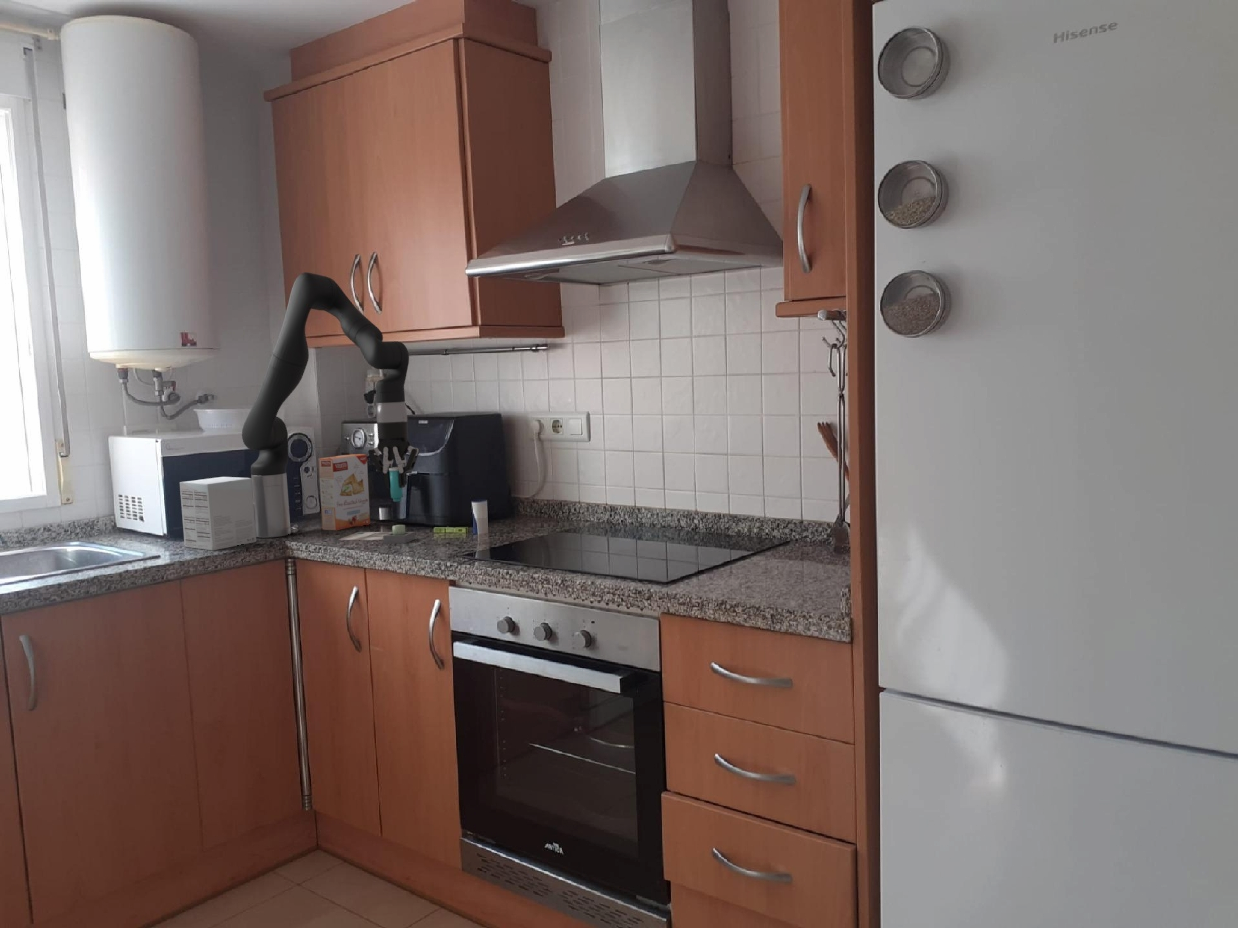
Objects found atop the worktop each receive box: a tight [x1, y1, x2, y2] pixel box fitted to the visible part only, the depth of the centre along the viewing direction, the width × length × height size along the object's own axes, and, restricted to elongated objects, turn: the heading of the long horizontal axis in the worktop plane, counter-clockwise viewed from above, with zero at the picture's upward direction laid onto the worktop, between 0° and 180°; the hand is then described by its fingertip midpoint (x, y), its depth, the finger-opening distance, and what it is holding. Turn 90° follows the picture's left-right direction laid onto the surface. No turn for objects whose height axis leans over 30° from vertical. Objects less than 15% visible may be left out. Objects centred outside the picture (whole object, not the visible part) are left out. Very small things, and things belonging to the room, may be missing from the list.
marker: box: [389, 466, 404, 503], centre depth 252 cm, size 3×3×9 cm
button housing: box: [382, 531, 416, 544], centre depth 253 cm, size 6×6×2 cm
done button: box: [391, 524, 406, 535], centre depth 253 cm, size 3×3×3 cm
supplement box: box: [179, 476, 257, 551], centre depth 261 cm, size 13×13×18 cm
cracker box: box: [318, 453, 371, 531], centre depth 281 cm, size 14×6×21 cm, turn 152°
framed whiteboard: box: [337, 531, 392, 541], centre depth 263 cm, size 16×13×1 cm
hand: (396, 487), depth 252 cm, fingers closed on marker, 3 cm apart
